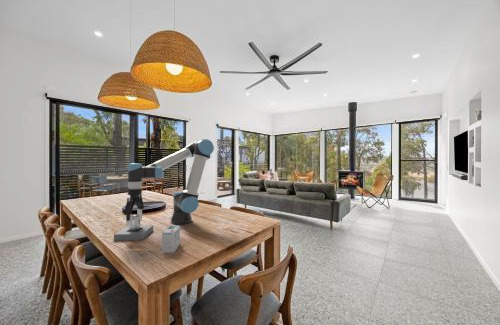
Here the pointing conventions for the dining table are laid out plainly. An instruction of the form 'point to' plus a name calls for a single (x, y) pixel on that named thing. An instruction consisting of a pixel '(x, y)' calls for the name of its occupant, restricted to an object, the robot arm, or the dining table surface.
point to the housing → (133, 233)
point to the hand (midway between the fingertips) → (134, 222)
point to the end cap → (135, 224)
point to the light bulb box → (170, 239)
